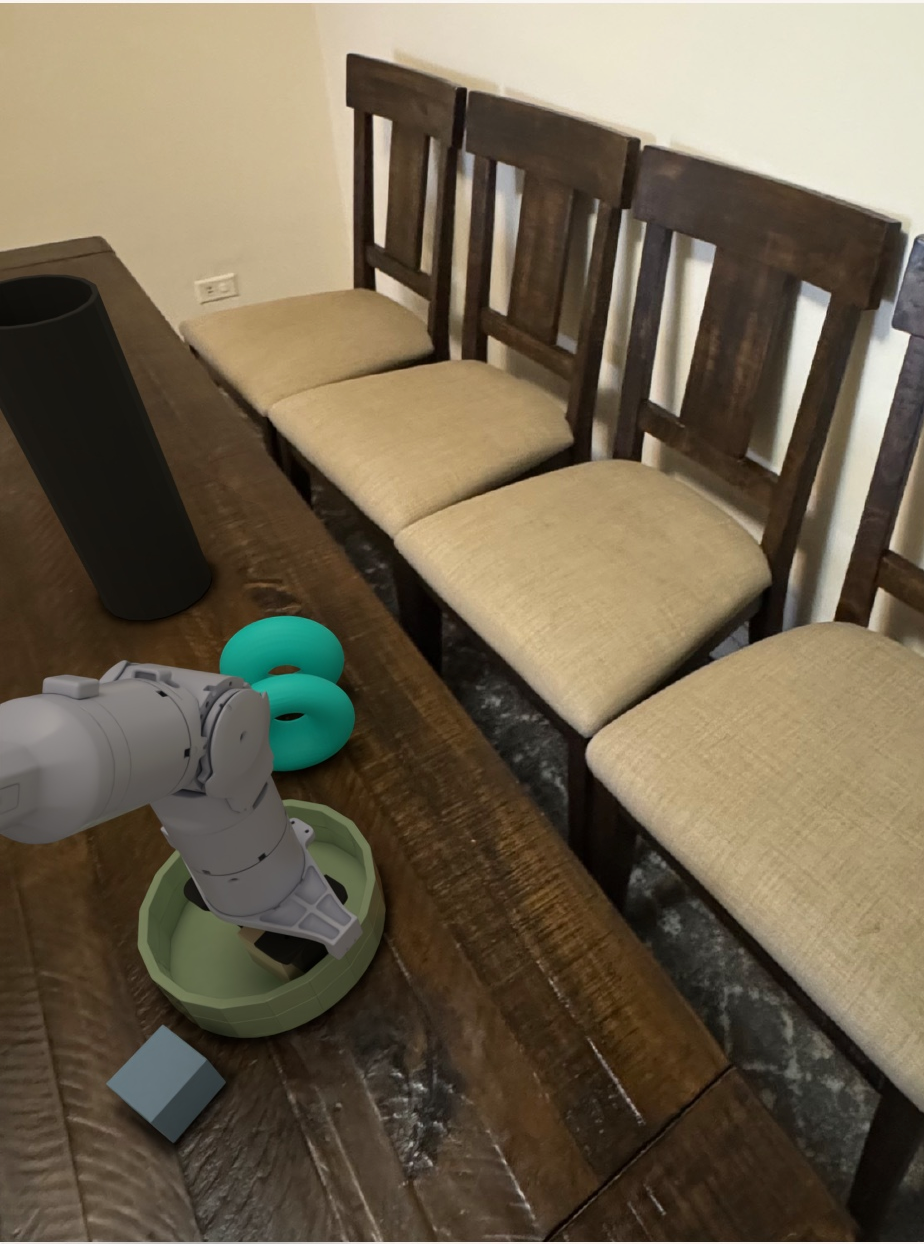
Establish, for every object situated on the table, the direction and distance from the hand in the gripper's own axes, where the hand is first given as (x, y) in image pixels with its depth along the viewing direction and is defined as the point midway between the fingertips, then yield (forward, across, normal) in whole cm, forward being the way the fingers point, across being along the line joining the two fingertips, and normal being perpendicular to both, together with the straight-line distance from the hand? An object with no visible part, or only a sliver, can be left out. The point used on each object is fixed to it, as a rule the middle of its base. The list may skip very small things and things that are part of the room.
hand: (291, 942), depth 57 cm
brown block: (+1, 0, 0) cm, 1 cm away
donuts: (+4, +16, -15) cm, 22 cm away
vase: (+4, +42, -21) cm, 47 cm away
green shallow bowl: (+3, +4, -1) cm, 5 cm away
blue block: (+3, 0, +10) cm, 11 cm away
